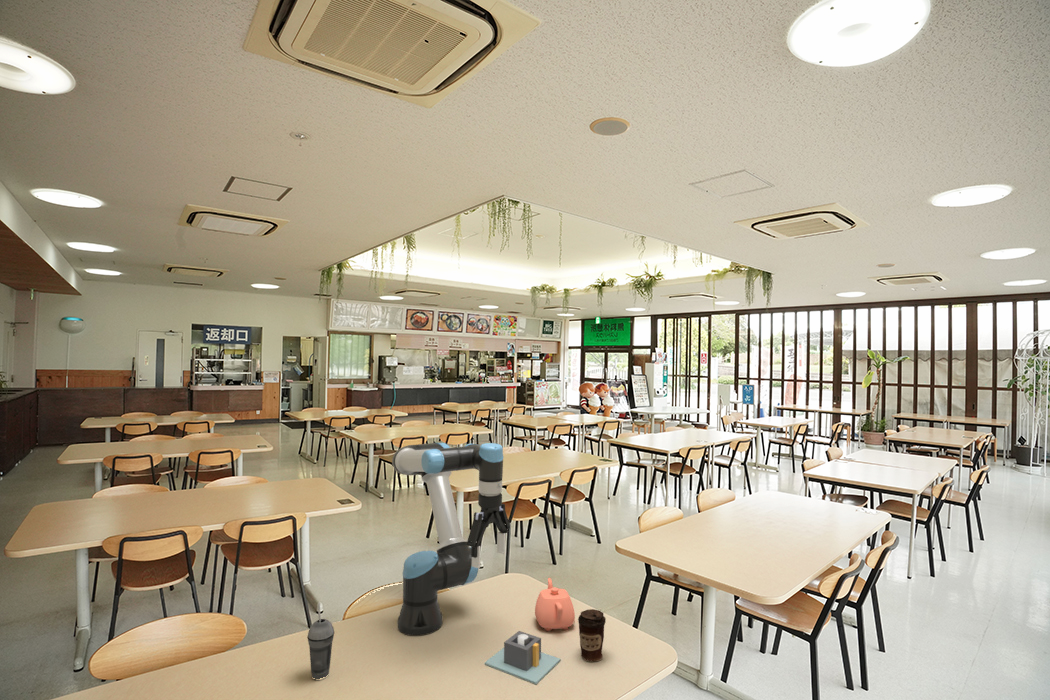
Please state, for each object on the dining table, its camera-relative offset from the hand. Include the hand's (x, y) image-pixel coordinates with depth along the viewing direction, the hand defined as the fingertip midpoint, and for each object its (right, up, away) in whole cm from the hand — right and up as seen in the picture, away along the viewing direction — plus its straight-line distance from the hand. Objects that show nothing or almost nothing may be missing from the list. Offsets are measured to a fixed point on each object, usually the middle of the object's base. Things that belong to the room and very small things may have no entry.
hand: (488, 559), depth 166 cm
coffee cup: (+32, -27, -7) cm, 42 cm away
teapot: (+22, -28, +14) cm, 38 cm away
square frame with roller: (+11, -26, -10) cm, 30 cm away
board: (+11, -27, -10) cm, 30 cm away
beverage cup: (-47, -27, -17) cm, 57 cm away
